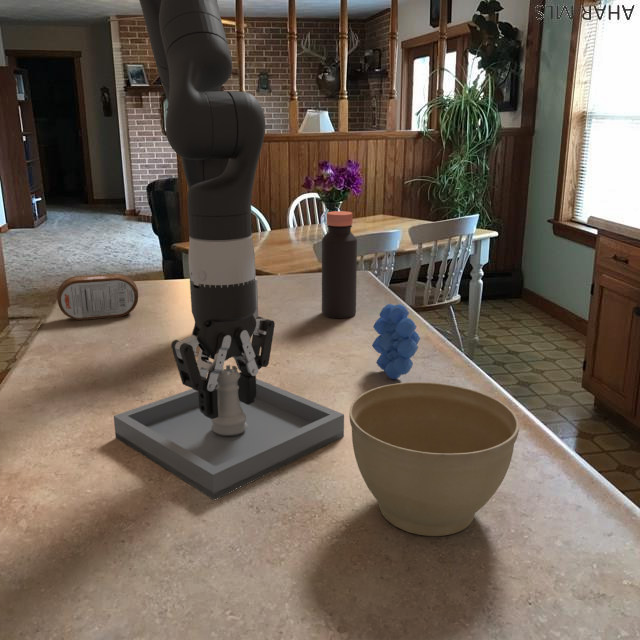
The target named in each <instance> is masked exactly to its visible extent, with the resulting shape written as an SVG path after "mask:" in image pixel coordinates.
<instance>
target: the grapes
mask: <svg viewBox="0 0 640 640" xmlns="http://www.w3.org/2000/svg"><path fill="white" fill-rule="evenodd" d="M409 315H410V313H409V311H408V308H407V307H406V306H405V305H403V304H401V303H398V304H395V305H394V304H393V303H388V304H385V306H384V307H383V308H382V309H381V311H380V312H379V318H378V319H376V320H375V323H374V324H373V327H372V328H373V329H374V331H375V332H376V333H377V334H378V336H377V337H376V338H375V339H374V341H373V343H372V345H371V347H372V348H373V350H375V351H376V352H377V354H380V355H379V356H378V358H377V359H376V361H375V363H376V364H377V366H378V367H379V368H380V369H381V370H382V371H383V372H384V373H385V375H387V377H388V378H390V379H391V380H397V379H399V378H400V377H401V376H403V375H407V374H408V373H409V372H410V371H411V369H412V367H413V364H414V363H413V361H412V359H411V358H412V357H414V356H415V354H416V353H417V351H418V349H419V346H418V344H419V342H420V340H421V337H420V335H419V333H418V332H417V331H416V328H417V325H416V323H415V321H413V320H412V318H409Z"/></svg>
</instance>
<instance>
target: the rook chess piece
mask: <svg viewBox="0 0 640 640" xmlns="http://www.w3.org/2000/svg"><path fill="white" fill-rule="evenodd" d="M239 373H240V372H239V371H238V367H237V365H232V366H231V365H230V364H229V365H225V369H224V368H223V370H222V372H220V373H219V374H218V378H217V382H218V386H217V388H216V389H217V391H218V417H217V418H214V419H212V422H213V425H212V429H213V431H214V432H215V433H216V434H218V435H221V436H234V435H238V434H241V433H242V432H244V431H245V429H246V428H247V425H248V424H247V423H246V422H245V421H246V419H247V417H246V415H245V414H244V412H243V409H242V408H241V406H240V402H239V397H238V389H239V386H238V385H237V381H238V379H239V378H240V376H241V375H240V374H239Z"/></svg>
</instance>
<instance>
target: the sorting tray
mask: <svg viewBox="0 0 640 640" xmlns="http://www.w3.org/2000/svg"><path fill="white" fill-rule="evenodd" d="M239 373H241V371H240V372H239ZM237 385H238V381H237ZM217 386H218V382H216V386H215V389H216V388H217ZM216 390H217V389H216ZM238 397H239V389H238ZM217 400H218V391H217ZM239 402H240V406H241V408H242V409H243V412H244V414H245V415H246V417H247V419H246V421H245V422H246V423H247V424H248V425H247V428H246V429H245V431H244V432H242V433H241V434H238V435H234V436H221V435H218V434H216V433H215V432H214V431H213V429H212V425H213V422H212V419H210V418H208V417H206V416H205V415H204V414H203V413H201V411H200V409H199V394H198V391H196V390H194V389H193V388H190V389H187V390H185V391H182V392H178V393H177V394H174V395H173V394H172V395H171V396H166V397H164V398H161V399H158V400H156V401H153V402H152V401H151V402H150V403H148V404H143V405H141V406H139V407H135V408H132V409H129V410H126V411H124V412H121V413H118V414H115V415H113V422H114V435H115V439H116V440H118V441H120V442H122V443H123V444H125V445H127V446H128V447H130V448H131V449H133V450H134V451H136V452H137V453H139V454H141V455H142V456H144V457H146V458H147V459H148V460H150V461H152V462H153V463H154V464H156V465H158V466H159V467H161V468H163V469H164V470H166V471H167V472H169V473H170V474H172V475H174V476H175V477H177V478H178V479H180V480H182V481H183V482H185V483H186V484H188V485H189V486H191V487H193V488H194V489H196V490H198V492H200V493H202V492H203V493H202V494H204V495H205V494H206V496H207V497H208V496H209V498H210V497H211V498H210V499H211V500H213V499H214V500H213V501H216V500H218V499H220V498H222V497H224V496H226V495H228V494H230V493H232V492H234V491H236V490H237V489H236V488H238V489H240V488H241V487H240V486H242V487H244V486H246V485H248V484H250V483H249V482H251V481H253V480H255V479H257V478H259V477H261V478H262V476H263V475H265V476H266V474H267V475H268V473H269V474H271V473H272V472H275V471H276V470H279V469H281V468H283V467H285V466H288V465H289V464H291V463H293V462H295V461H297V460H299V459H301V458H303V457H305V456H307V455H310V454H312V453H313V452H315V451H317V450H319V449H322V448H323V447H325V446H328V445H330V444H331V443H334V442H336V441H338V440H340V439H342V438H344V437H345V434H344V433H345V414H344V413H342V412H339V411H336V410H334V409H331V408H329V407H327V406H324V405H322V404H319V403H317V402H314V401H312V400H309V399H307V398H305V397H303V396H300V395H297V394H295V393H292V392H290V391H288V390H285V389H283V388H280V387H278V386H276V385H273V384H270V383H268V382H265V381H263V380H261V379H258V378H256V397H255V398H254V403H252V404H250V405H247V404H245V403H243V402H241V401H240V400H239ZM270 472H271V473H270ZM263 477H264V476H263ZM259 479H260V478H259ZM257 480H258V479H257ZM255 481H256V480H255ZM253 482H254V481H253ZM247 483H248V484H247ZM251 483H252V482H251ZM245 484H246V485H245ZM243 485H244V486H243ZM239 487H240V488H239ZM235 489H236V490H235ZM233 490H234V491H233ZM231 491H232V492H231ZM229 492H230V493H229ZM227 493H228V494H227ZM225 494H226V495H225ZM223 495H224V496H223ZM221 496H222V497H221ZM219 497H220V498H219ZM217 498H218V499H217ZM215 499H216V500H215Z"/></svg>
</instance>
